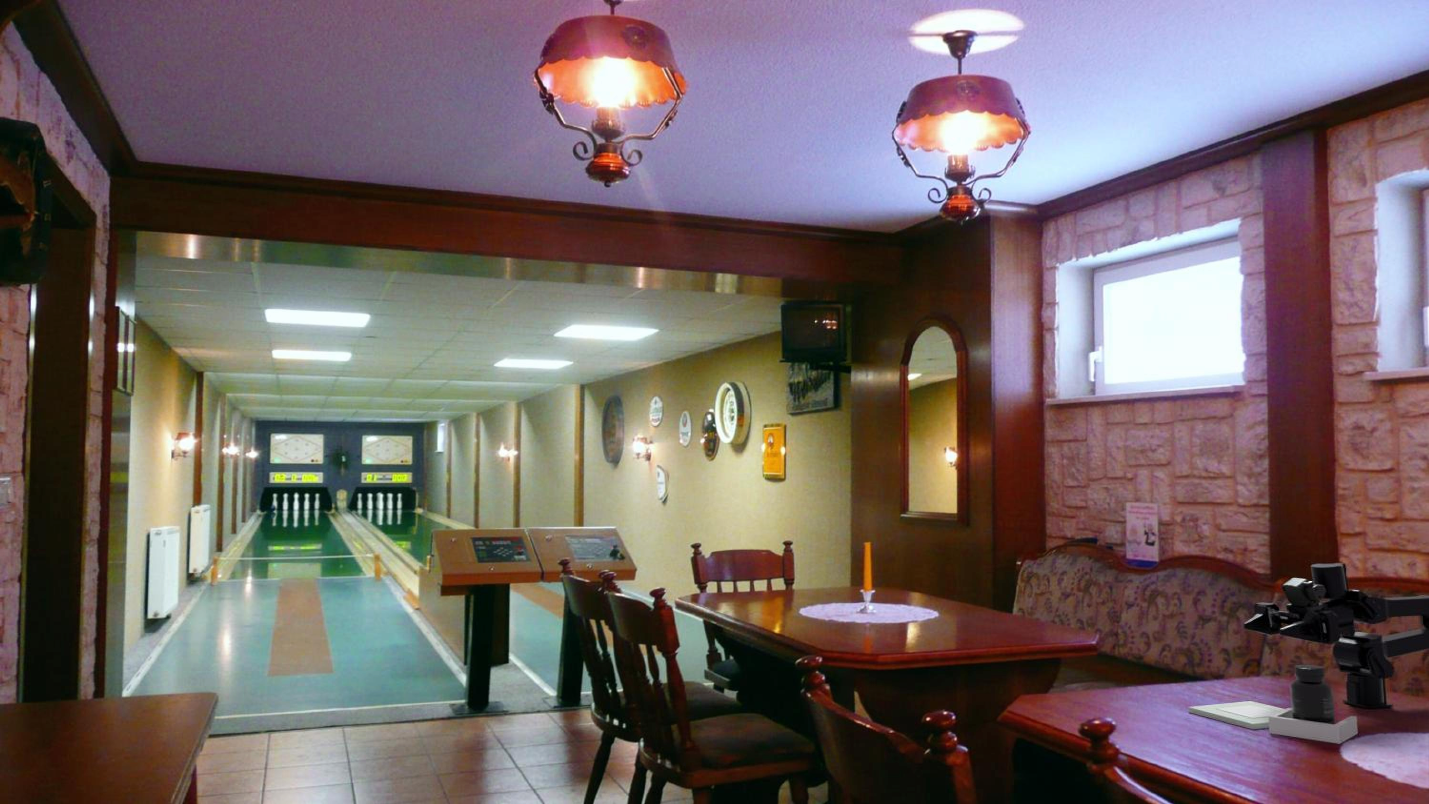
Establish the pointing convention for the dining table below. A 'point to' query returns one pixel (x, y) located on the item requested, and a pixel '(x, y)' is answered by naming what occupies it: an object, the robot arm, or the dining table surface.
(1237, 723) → the docking plate
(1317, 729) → the holster
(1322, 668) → the supplement bottle
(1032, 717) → the dining table surface
